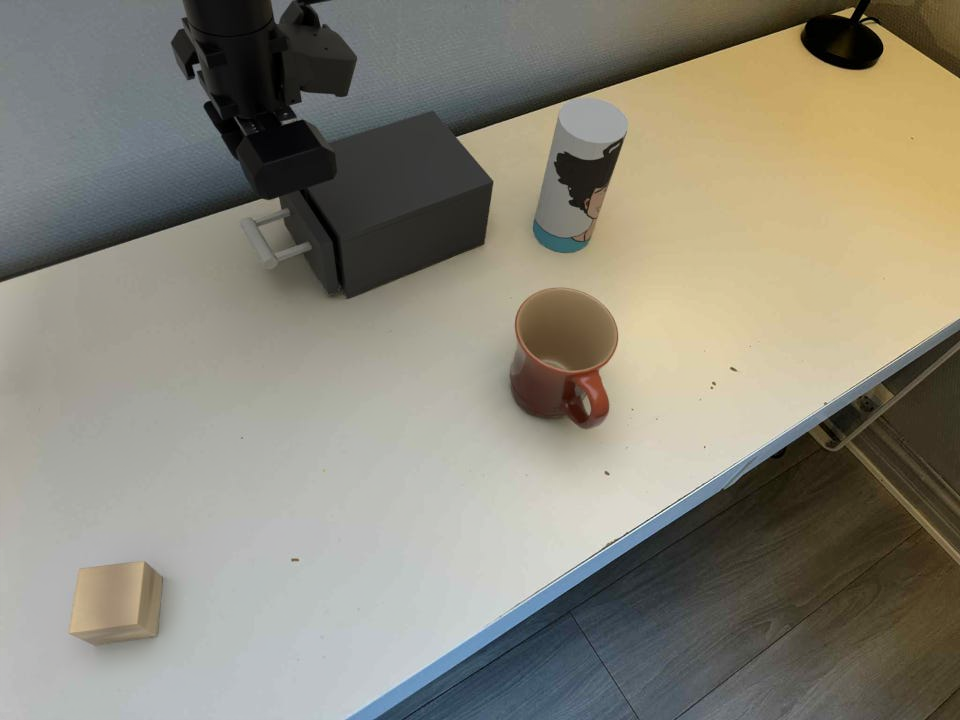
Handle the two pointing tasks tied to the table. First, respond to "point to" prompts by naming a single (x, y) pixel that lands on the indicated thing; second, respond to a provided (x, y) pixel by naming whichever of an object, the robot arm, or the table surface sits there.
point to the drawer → (299, 238)
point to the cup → (578, 172)
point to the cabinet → (402, 201)
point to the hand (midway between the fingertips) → (268, 185)
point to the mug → (563, 356)
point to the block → (116, 603)
